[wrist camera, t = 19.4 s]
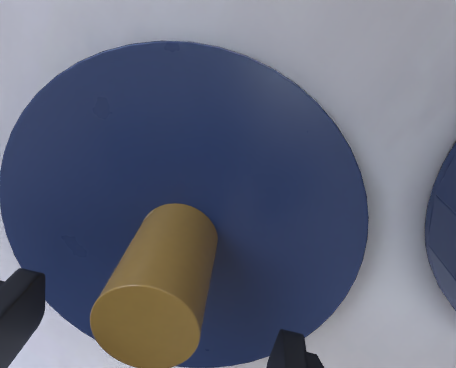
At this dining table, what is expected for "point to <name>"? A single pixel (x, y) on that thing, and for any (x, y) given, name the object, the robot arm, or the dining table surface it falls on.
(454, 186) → the tin
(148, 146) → the tin lid
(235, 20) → the dining table surface
